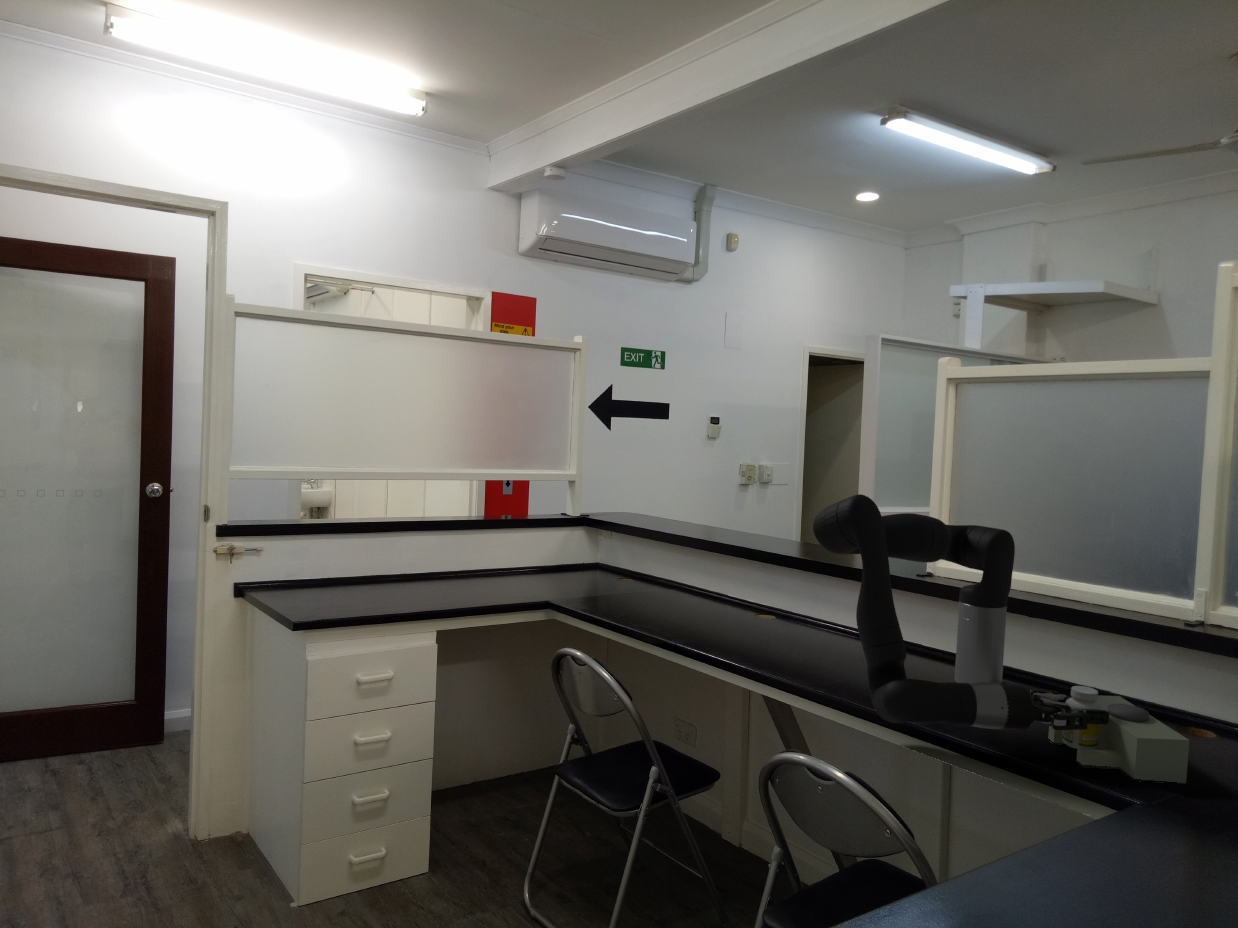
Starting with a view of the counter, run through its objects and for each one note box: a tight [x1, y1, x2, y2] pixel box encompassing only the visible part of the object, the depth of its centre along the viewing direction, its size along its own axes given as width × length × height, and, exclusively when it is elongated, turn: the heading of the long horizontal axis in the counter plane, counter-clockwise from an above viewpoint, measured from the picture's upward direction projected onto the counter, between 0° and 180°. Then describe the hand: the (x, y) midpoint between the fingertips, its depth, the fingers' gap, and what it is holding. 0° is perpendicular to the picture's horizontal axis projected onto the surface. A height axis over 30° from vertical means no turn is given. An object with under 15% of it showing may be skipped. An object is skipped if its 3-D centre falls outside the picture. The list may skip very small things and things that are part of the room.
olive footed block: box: [1047, 694, 1190, 784], centre depth 145 cm, size 20×14×8 cm
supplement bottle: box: [1062, 685, 1101, 750], centre depth 145 cm, size 5×5×10 cm
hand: (1097, 710), depth 145 cm, fingers closed on supplement bottle, 5 cm apart
